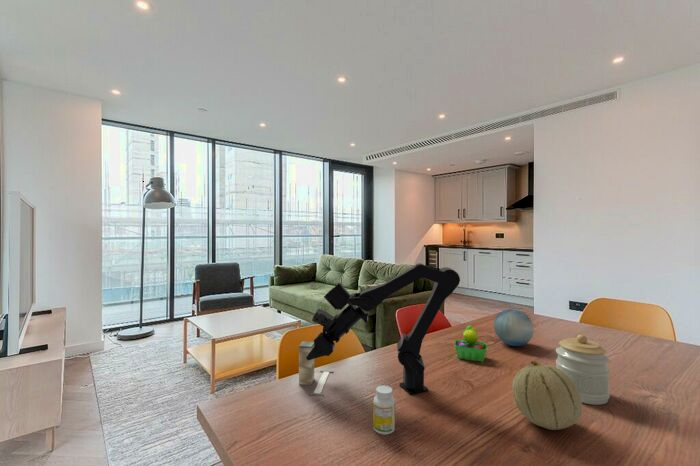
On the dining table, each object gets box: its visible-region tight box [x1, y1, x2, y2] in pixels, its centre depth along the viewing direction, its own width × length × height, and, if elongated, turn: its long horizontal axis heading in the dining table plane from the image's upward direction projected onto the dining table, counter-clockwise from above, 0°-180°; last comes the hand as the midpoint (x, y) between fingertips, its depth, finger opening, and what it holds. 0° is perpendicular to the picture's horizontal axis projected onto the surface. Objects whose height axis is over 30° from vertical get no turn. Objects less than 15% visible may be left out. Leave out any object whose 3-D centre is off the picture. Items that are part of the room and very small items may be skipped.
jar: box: [555, 334, 611, 406], centre depth 95 cm, size 13×13×18 cm
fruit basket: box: [454, 325, 488, 363], centre depth 122 cm, size 11×9×11 cm
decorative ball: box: [493, 308, 535, 347], centre depth 135 cm, size 15×15×15 cm
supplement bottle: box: [372, 384, 396, 436], centre depth 78 cm, size 5×5×10 cm
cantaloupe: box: [511, 360, 583, 431], centre depth 80 cm, size 15×15×15 cm
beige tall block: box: [298, 341, 315, 386], centre depth 102 cm, size 4×4×12 cm
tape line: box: [308, 369, 334, 397], centre depth 101 cm, size 16×4×1 cm, turn 173°
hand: (310, 353), depth 102 cm, fingers open, 9 cm apart
